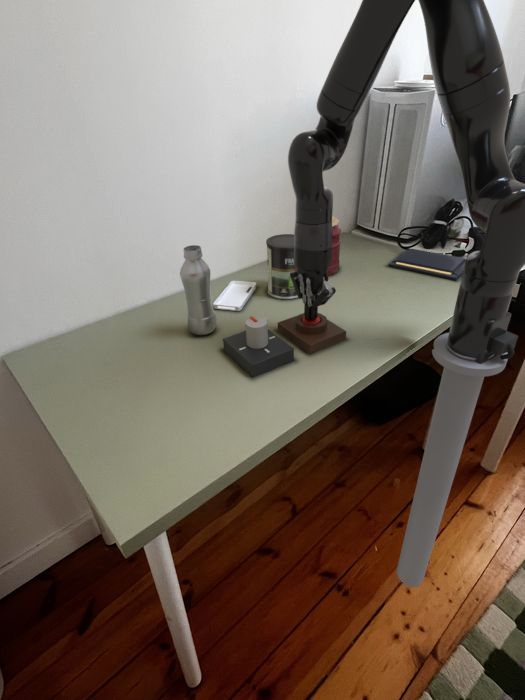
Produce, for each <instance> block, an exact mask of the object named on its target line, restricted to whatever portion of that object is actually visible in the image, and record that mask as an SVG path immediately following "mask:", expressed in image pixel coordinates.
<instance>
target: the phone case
mask: <svg viewBox="0 0 525 700" xmlns="http://www.w3.org/2000/svg"><path fill="white" fill-rule="evenodd" d="M249 289H250V290H249ZM256 289H257V282H256V281H243V280H231V281H230V282H229V283H228V284H227V285H226V287H225V288H224V289H223V290H222V292H221V293H220V294H219V295H218V296H217V298H216V299H215V300H214V302H212V306H213V310H214V309H215V310H223V311H234V312H240V311H241V310H242V309H243V308H244V307H245V305H246V304H247V303H248V301H249V299H250V298H251V296H252V295H253V293H254V292H255V291H256Z"/></svg>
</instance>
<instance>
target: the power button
mask: <svg viewBox="0 0 525 700" xmlns="http://www.w3.org/2000/svg"><path fill="white" fill-rule="evenodd" d="M302 322H303V323H304V324H308V325H316V324H318V323H320V318H319V317H318V316H317V318H316V320H313V321H310V322H309V321H308V320H306V319H305V316H304V317H303V318H302Z"/></svg>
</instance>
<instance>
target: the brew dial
mask: <svg viewBox="0 0 525 700" xmlns="http://www.w3.org/2000/svg"><path fill="white" fill-rule="evenodd" d="M268 330H269V325H268V319H267V318H265V317H263V316H252V315H251V316H250V317H249V318H248V319H246V321H245V331H246V338H247V345H248V346H249V347H250V348H253V349H260V348H264V347H266V346H267V345H268Z"/></svg>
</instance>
